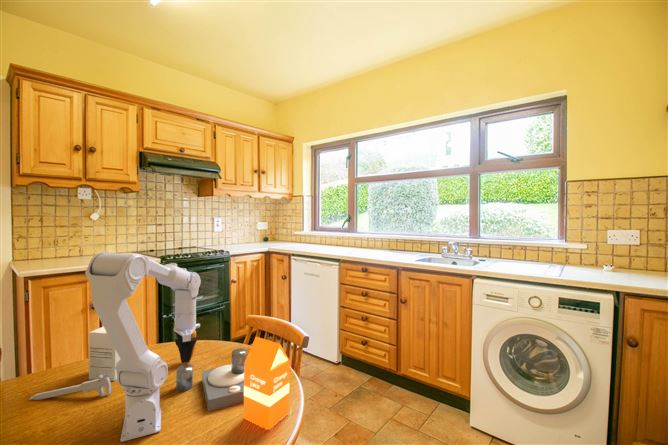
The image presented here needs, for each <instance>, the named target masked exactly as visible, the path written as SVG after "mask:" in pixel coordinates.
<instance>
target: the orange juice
mask: <svg viewBox="0 0 668 445" xmlns="http://www.w3.org/2000/svg"><path fill="white" fill-rule="evenodd" d="M290 361H291V359H289V357H288V355H287V354H286V352H285V350H284V348H283V347H282V345H281V343H279V342H275V341H272V340H269V339H265V338H262V337H259V336H255V338H254V340H253V342H252V345H251V346H250V349H249V352H248V354H247V358H246V360H245V369H244V402H243V419H244V420H245V419H246V421H247V420H248V422H249V421H250V423H251V422H252V423H251V424H253V423H254V425H255V424H256V426H257V425H259V426H261V427H264V428H267V429H270V428H271V427H272V426H273V425H275V424H276V423H277V422H278V421H279V420H280V419H281V418H282V417H284V416H285V415H286V414H287V413H288V412H289V407H290V406H289V405H290V369H291V368H290V366H291V362H290ZM259 426H258V427H259ZM261 427H260V428H261Z"/></svg>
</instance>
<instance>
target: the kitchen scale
mask: <svg viewBox="0 0 668 445" xmlns="http://www.w3.org/2000/svg"><path fill="white" fill-rule="evenodd" d="M201 383H202V387H203V393H204V398H205V401H206V407H207V410H208V412H211V411H215V410H219V409H222V408H226V407H230V406H233V405H237V404H241V402H242V403H244V373H242V374H233V373H232V372H231V364H225V365H221V366H218V367H217V368H211V369H206V370H202V371H201Z"/></svg>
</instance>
